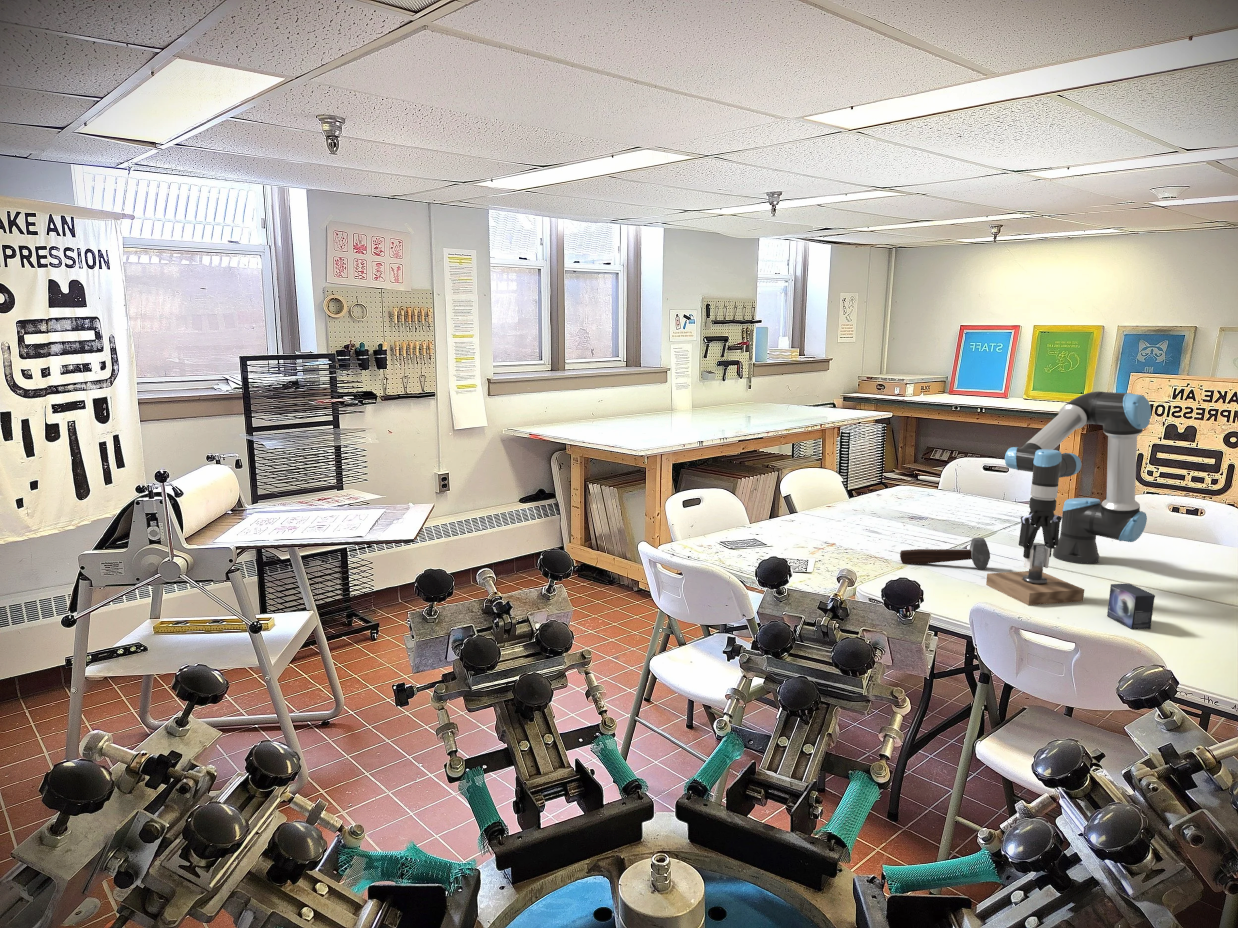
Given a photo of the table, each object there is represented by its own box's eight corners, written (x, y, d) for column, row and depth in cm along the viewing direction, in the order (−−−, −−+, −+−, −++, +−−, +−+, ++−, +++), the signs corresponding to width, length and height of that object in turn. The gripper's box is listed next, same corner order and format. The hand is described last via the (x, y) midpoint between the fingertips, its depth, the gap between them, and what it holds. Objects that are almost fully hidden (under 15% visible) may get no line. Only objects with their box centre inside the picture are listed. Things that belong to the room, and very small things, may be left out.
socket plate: (1037, 581, 265) (1038, 570, 265) (1083, 601, 246) (1084, 589, 245) (986, 584, 261) (987, 573, 260) (1028, 605, 242) (1029, 593, 241)
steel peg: (1035, 587, 258) (1040, 540, 255) (1050, 594, 251) (1055, 546, 248) (1016, 588, 256) (1021, 541, 253) (1032, 595, 249) (1037, 547, 247)
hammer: (902, 574, 284) (990, 570, 277) (900, 544, 282) (989, 539, 275) (900, 570, 288) (987, 566, 281) (898, 541, 287) (985, 536, 280)
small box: (1104, 616, 233) (1109, 583, 232) (1125, 615, 234) (1129, 582, 232) (1130, 629, 223) (1135, 595, 221) (1151, 629, 224) (1156, 594, 222)
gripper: (1059, 494, 254) (1051, 562, 258) (1010, 496, 250) (1003, 565, 254) (1077, 499, 246) (1069, 569, 250) (1026, 501, 243) (1019, 572, 247)
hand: (1035, 567), depth 252 cm, fingers open, 5 cm apart
